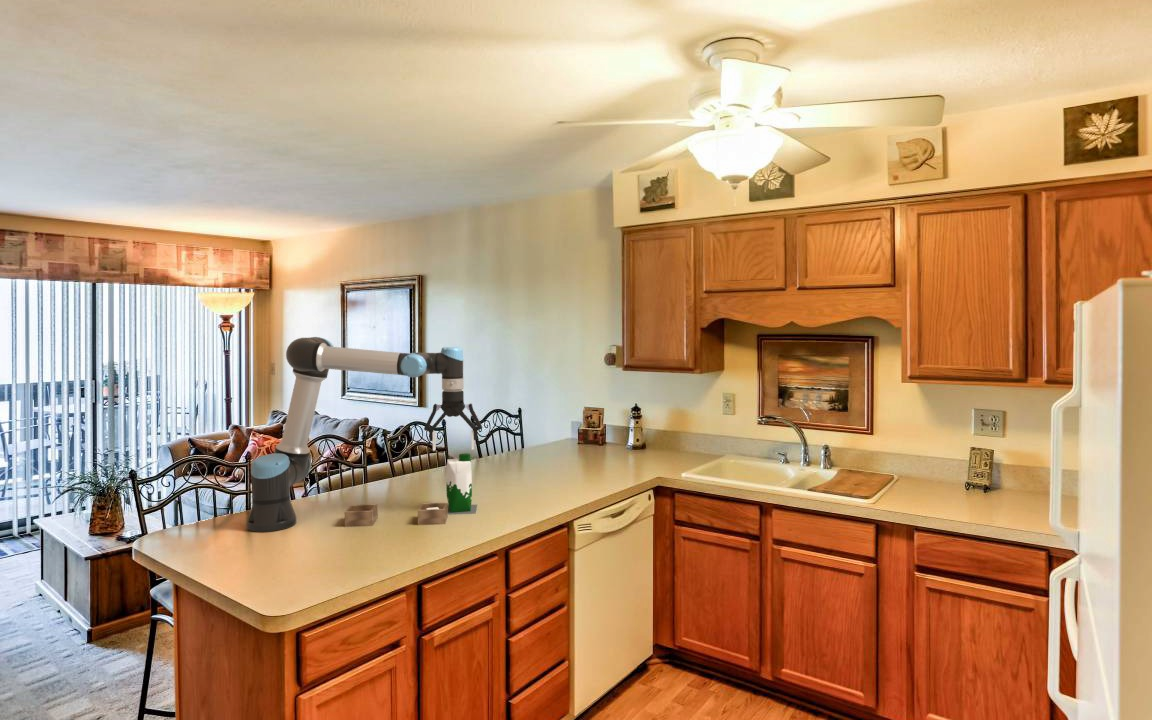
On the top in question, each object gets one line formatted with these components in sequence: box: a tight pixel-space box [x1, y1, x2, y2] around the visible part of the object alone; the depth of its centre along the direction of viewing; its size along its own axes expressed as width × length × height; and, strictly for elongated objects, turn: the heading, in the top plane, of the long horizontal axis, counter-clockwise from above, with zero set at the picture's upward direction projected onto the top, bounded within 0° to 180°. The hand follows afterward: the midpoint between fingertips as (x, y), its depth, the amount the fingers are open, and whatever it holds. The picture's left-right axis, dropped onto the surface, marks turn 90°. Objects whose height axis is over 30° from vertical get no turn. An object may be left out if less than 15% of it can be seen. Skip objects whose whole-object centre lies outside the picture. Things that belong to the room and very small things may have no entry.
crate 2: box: [417, 502, 449, 526], centre depth 224 cm, size 9×9×6 cm
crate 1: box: [343, 503, 379, 528], centre depth 222 cm, size 9×9×6 cm
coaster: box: [448, 504, 478, 516], centre depth 238 cm, size 12×12×1 cm
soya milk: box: [445, 453, 473, 513], centre depth 237 cm, size 9×9×20 cm
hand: (453, 449), depth 234 cm, fingers open, 13 cm apart
